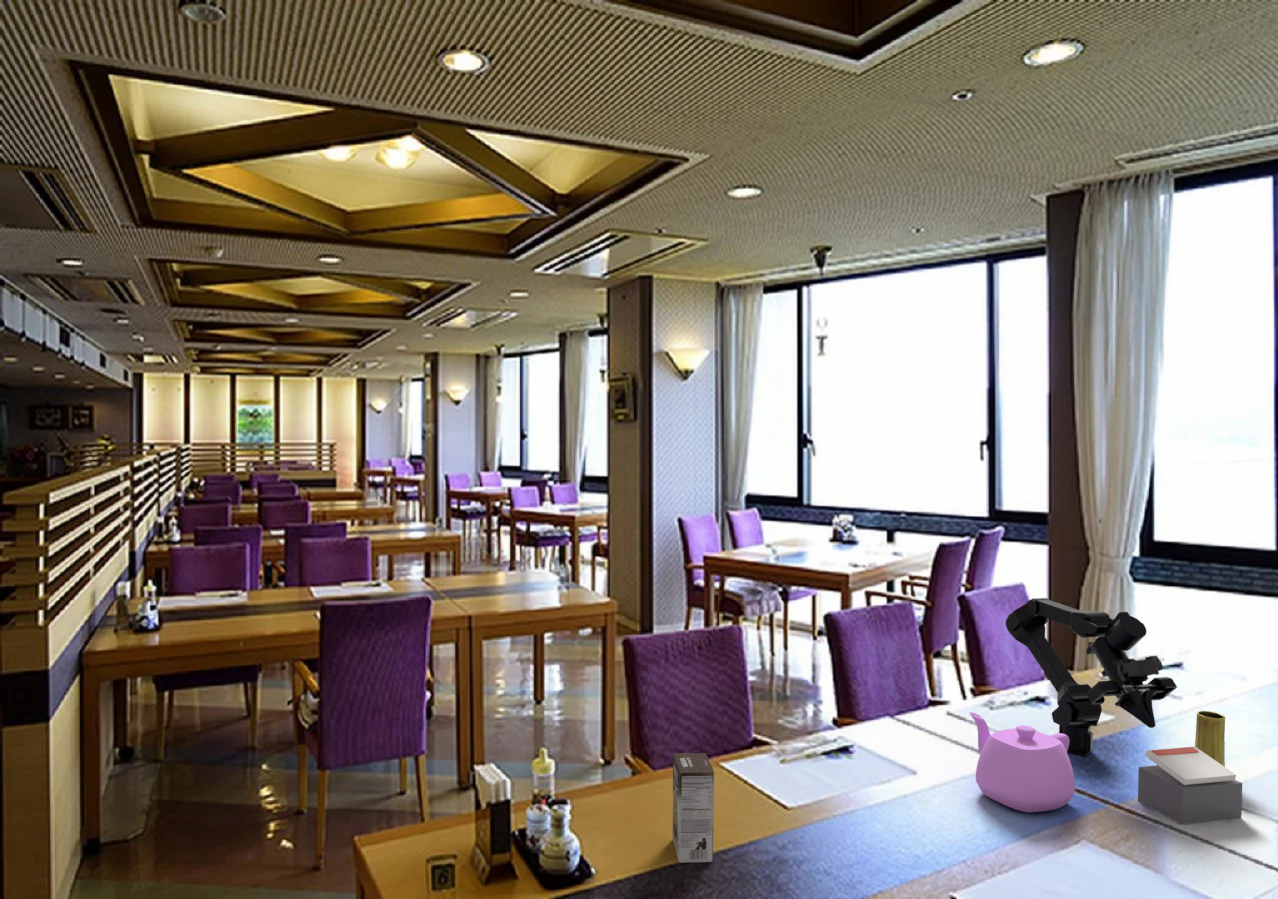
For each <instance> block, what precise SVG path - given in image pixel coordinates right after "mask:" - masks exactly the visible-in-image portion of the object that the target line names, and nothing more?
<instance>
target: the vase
mask: <svg viewBox="0 0 1278 899" xmlns="http://www.w3.org/2000/svg"><path fill="white" fill-rule="evenodd" d="M1195 726H1196V727H1195V728H1196V729H1195V742H1194V747H1196V748H1198V749H1199V750H1201V751H1202V752H1204V753H1205V754H1207V755H1208V756H1209V757H1211V758H1212V759H1214V760H1215V761H1217V762H1218V763H1220V764H1221V765H1223V766H1224V767H1226V766H1225V765H1226V762H1225V761H1226V760H1225V758H1226V757H1225V756H1226V754H1225V751H1226V750H1225V749H1226V743H1225V742H1226V741H1225V738H1226V737H1225V735H1226V734H1225V733H1226V716H1225V715H1224V714H1222V713H1218V712H1215V711H1209V710H1208V711H1207V710H1199V711H1197V712H1196V725H1195Z"/></svg>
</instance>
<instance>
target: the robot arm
mask: <svg viewBox="0 0 1278 899" xmlns="http://www.w3.org/2000/svg"><path fill="white" fill-rule="evenodd" d="M1049 620H1051V621H1054V622H1057V623H1060V624H1063V625H1065V626H1068V627H1069V629H1070V630H1071V631H1072V632H1073V634H1076V635H1077V636H1078V637H1081V638H1083V639H1084V638H1086V639H1088V638H1096V639H1095V640H1094V641H1088V646H1087V648H1086V651H1085V652H1086V655H1095V656H1096V659H1097V660H1098V663H1100V665H1101V667H1102V669H1103V671H1101V675H1102V677H1103V678H1104V677H1107V678H1108V679H1109V680H1100V681H1097V682H1096V683H1095V684H1094V685H1093V686H1092V687H1091V686H1090V684H1088V683H1086V684H1084V683H1082V684H1080V683H1078V682H1077V681H1076V680H1075V679H1074V677H1073V675H1072V674H1071V673H1070V670H1068V668H1067V667H1066V665H1065V663H1063V661H1062V660H1061V658H1060V657H1059V655H1058V654H1057V652H1056V651H1055V650H1054V648H1053V646H1052V645H1051V643H1050V641H1048V639H1047V637H1046V626H1045V625H1046V624H1047V623H1048V622H1049ZM1005 627H1006V629H1007V632H1008V633H1009V634H1010V635H1011V636H1012V638H1013V639H1014V640H1016V642H1019V643H1020V644H1022V645H1024V646H1025V647H1027V648H1028V650H1029V651H1030V653H1031V655H1032V656H1033V657H1034V659H1035V660H1036V663H1038V665H1039V667H1040V668H1041V669H1042V672H1043V673H1044V674H1045V675H1046V677H1047V679H1048V680H1049V682H1050V683H1051V685H1052V686H1053V688H1054V689H1055V691H1056V692H1057V695H1056V696H1057V700H1056V703H1057V704H1056V705H1057V706H1058V707H1056V708H1055V709H1054V710H1053V711H1052V712H1051V718H1052V722H1053V723H1054V724H1057V725H1058V733H1062V734H1065V735H1067V736H1068V737H1069V747H1068V751H1067V753H1070V754H1075V755H1078V756H1079V755H1080V756H1083V757H1087V756H1088V755H1089V753H1091V752H1092V750H1093V747H1094V746H1093V740H1094V732H1093V731H1091V727H1097V726H1098V724H1099V720H1100V717H1101V714H1102V711H1103V709H1102V704H1104V703H1105V700H1106V699H1105V697H1116V700H1117V701H1116V702H1115V703H1114V705H1115V706H1116V707H1119V708H1121V709H1122V710H1124V711H1126V712H1127V713H1129V714H1131V716H1134V718H1136V719H1137V720H1138V721H1140V722H1141V723H1143V724H1144V726H1145V725H1146V726H1147V727H1148V728H1149V729H1153V728H1156V725H1157V724H1156V721H1155V720H1156V719H1155V715H1154V708H1153V701H1161V700H1164V699H1165V698H1166V697H1168V696H1169V695H1171V693H1172V692H1173V691H1175V690H1176V689H1177V688H1178V686H1177V684H1176V682H1175V681H1174V679H1173V678H1171V677H1169V676H1162V677H1161V676H1160V677H1154V678H1152V679H1151V680H1150V681H1149V682H1147V683H1146V684H1145V683H1143V682H1146V681H1148V680H1149V678H1150V677H1148V676H1152V675H1155V676H1158V675H1160V673H1159V672H1160V671H1162V670H1163V669H1164V666H1163V663H1162V661H1161V660H1160V658H1159V657H1158V655H1149V656H1146V657H1145V658H1144V659H1138V660H1136V659H1134V658H1129V657H1128V655H1127V653H1126V652H1127V651H1130V650H1132V649H1133V647H1135V646H1136V645H1137V644H1138V642H1140V641H1141V640H1142V639H1143V638H1144V637H1146V635H1147V627H1146V625H1145V624H1144V623H1143V622H1142V621H1140V620H1139V619H1138V618H1136V617H1135V616H1132V615H1130V614H1129V612H1128V611H1119V612H1118V613H1117V614H1116V616H1115V617H1114V618H1111V617H1110V615H1109V613H1107V612H1105V611H1099V610H1098V611H1097V610H1081V609H1078V608H1075V607H1071V606H1068V605H1065V604H1063V603H1059V602H1056V601H1053V600H1052V599H1050V598H1047V597H1038V598H1031V599H1029V600H1028V601H1027V602H1026V603H1025V604H1024V605H1022V606H1020V607H1017V608H1016V609H1015V610H1013V611H1012V612H1011V613H1010V614H1008V616H1007V618H1006V619H1005ZM1125 651H1126V652H1125Z"/></svg>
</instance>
